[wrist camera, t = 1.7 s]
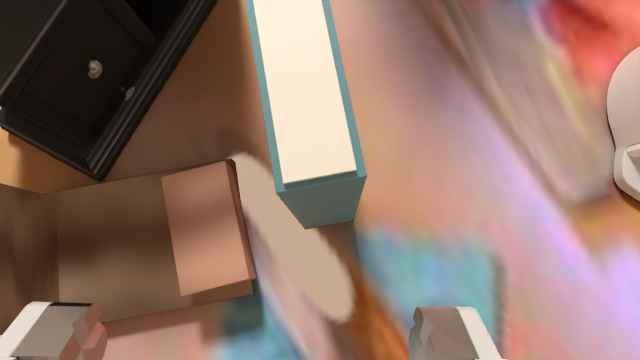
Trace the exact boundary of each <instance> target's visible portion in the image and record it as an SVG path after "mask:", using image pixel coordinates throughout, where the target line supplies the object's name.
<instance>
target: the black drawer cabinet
mask: <svg viewBox="0 0 640 360" xmlns="http://www.w3.org/2000/svg"><path fill="white" fill-rule="evenodd" d="M216 1H217V0H0V106H1V107H2V108H1V110H0V126H1V128H2V129H3V130H6V131H7V132H9V133H11V134H13V135H15V136H16V137H18V138H20V139H22V140H24V141H25V142H27V143H29V144H31V145H33V146H35V147H36V148H38V149H40V150H42V151H43V152H45V153H47V154H49V155H50V156H51V157H53V158H55V159H57V160H60V161H62V162H64V163H66V164H67V165H69V166H70V167H72V168H74V169H75V170H78V171H80V172H82V173H84V174H86V175H88V176H89V177H91V178H93V179H95V180H98V181H103V179H104V178H105V177H106V175H107V174H108V172H109V171H110V169H111V168H112V166H113V164H114V163H115V161H116V159H117V158H118V157H119V155H120V153H121V152H122V150H123V148H124V147H125V145H126V144H127V142H128V141H129V139H130V137H131V136H132V134H133V132H134V131H135V129H136V128H137V126H138V125H139V123H140V121H141V120H142V118H143V117H144V115H145V113H146V112H147V111H148V109H149V107H150V106H151V104H152V103H153V101H154V99H155V98H156V96H157V94H158V93H159V91H160V90H161V88H162V87H163V85H164V83H165V82H166V80H167V79H168V77H169V76H170V74H171V73H172V72H173V69H174V68H175V66H176V65H177V63H178V62H179V60H180V58H181V57H182V56H183V54H184V52H185V51H186V49H187V47H188V46H189V44H190V43H191V41H192V39H193V38H194V36H195V34H196V33H197V31H198V30H199V28H200V27H201V25H202V24H203V22H204V20H205V19H206V17H207V15H208V14H209V12H210V11H211V9H212V8H213V6H214V5H215V3H216Z"/></svg>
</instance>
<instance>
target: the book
mask: <svg viewBox="0 0 640 360" xmlns="http://www.w3.org/2000/svg"><path fill="white" fill-rule="evenodd" d="M245 2H246V8H247V15H248V21H249V27H250V33H251V40H252V46H253V52H254V58H255V65H256V71H257V77H258V83H259V90H260V96H261V102H262V108H263V115H264V121H265V127H266V133H267V140H268V146H269V152H270V158H271V165H272V171H273V177H274V183H275V190H276V193H277V195H278V196H279V197H280V198H281V200H282V201H283V202H284V203H285V205H286V206H287V207H288V208H289V210H290V211H291V212H292V213H293V215H294V216H295V217H296V218H297V220H298V221H299V222H300V223H301V224H302V226H303V227H304V228H305V229H310V228H316V227H321V226H326V225H332V224H337V223H342V222H348V221H353V220H354V217H355V213H356V210H357V207H358V203H359V200H360V197H361V194H362V190H363V187H364V184H365V180H366V177H367V174H366V169H365V165H364V160H363V155H362V151H361V146H360V141H359V137H358V132H357V127H356V123H355V118H354V113H353V108H352V104H351V99H350V94H349V90H348V85H347V80H346V76H345V71H344V66H343V62H342V57H341V52H340V48H339V43H338V38H337V34H336V29H335V24H334V20H333V15H332V10H331V6H330V1H329V0H245Z"/></svg>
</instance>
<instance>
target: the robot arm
mask: <svg viewBox="0 0 640 360" xmlns="http://www.w3.org/2000/svg"><path fill="white" fill-rule="evenodd" d="M607 114H608V120H609V124H610V127H611V131H612V134H613V137H614V141H615V146H616V152H615V159H614V169H613V175H614V180H615V182H616V184H617V186H618V187H619V188H620V189H621V190H623V191H624V192H626V193H627V194H629V195H630V196H632V197H633V198H635V199H637V200H638V201H640V46H639V47H637V48H636V49H634V50H633V51H632V52H631V53H629V54H628V55H627V56H626V57H625V58H624V59H623V60H622V62H621V63H620V64H619V65H618V67H617V68H616V70H615V72H614V74H613V76H612V78H611V81H610V84H609V88H608V93H607ZM100 316H101V311H100V308H99V305H98V304H94V303H70V302H31V303H30V304H28V305H26V306H25V308H24V309H23V310H22V311H21V313H20V314H19V315H18V316H17V317H16V319H15V320H14V321H13V322H12V324H11V325H10V326H9V327H8V329H7V330H6V331H5V332H4V334H3V335H2V336H1V337H0V360H102V358H103V356H104V353H105V349H106V345H107V333H106V329H105V326H103V325H102V324H101V323H100V322H98V320H99V318H100ZM413 319H414V322H415V326H414V327H413V328H411V329H410V334H409V355H410V360H508V359H502V358H501V356H500V355H499V353H498V351H497V349H496V347H495V345H494V343H493V341H492V339H491V337H490V335H489V333H488V331H487V329H486V327H485V325H484V323H483V321H482V319H481V318H480V316H479V314H478V312H477V310H476V309H475V308H474V307H417V308H416V309H415V312H414V316H413Z"/></svg>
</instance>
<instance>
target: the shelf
mask: <svg viewBox="0 0 640 360" xmlns="http://www.w3.org/2000/svg"><path fill="white" fill-rule="evenodd" d="M254 278H256V276H255V271H254V266H253V262H252V257H251V252H250V247H249V243H248V238H247V233H246V229H245V224H244V219H243V215H242V207H241V200H240V193H239V186H238V179H237V172H236V165H235V162H234V161H233V160H232V159H228V160H223V161H217V162H212V163H207V164H201V165H196V166H191V167H185V168H180V169H175V170H169V171H164V172H159V173H153V174H148V175H143V176H137V177H132V178H127V179H121V180H116V181H111V182H106V183H100V184H95V185H90V186H84V187H79V188H74V189H68V190H63V191H58V192H52V193H47V194H40V193H36V192H32V191H28V190H24V189H20V188H16V187H13V186H9V185H5V184H1V183H0V335H3V334H4V332H5V331H6V330H7V329H8V327H9V326H10V325H11V324H12V322H13V321H14V320H15V319H16V317H17V316H18V315H19V314H20V313H21V311H22V310H23V309H24V308H25V306H26V305H28V304H30V303H31V302H70V303H94V304H98V305H99V308H100V311H101V316H100V318H99V320H98V322H100V323H103V322H108V321H114V320H119V319H125V318H130V317H135V316H141V315H146V314H151V313H157V312H162V311H167V310H173V309H178V308H183V307H189V306H194V305H200V304H205V303H210V302H216V301H221V300H226V299H232V298H237V297H242V296H248V295H252V294H253V286H252V279H254Z"/></svg>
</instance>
